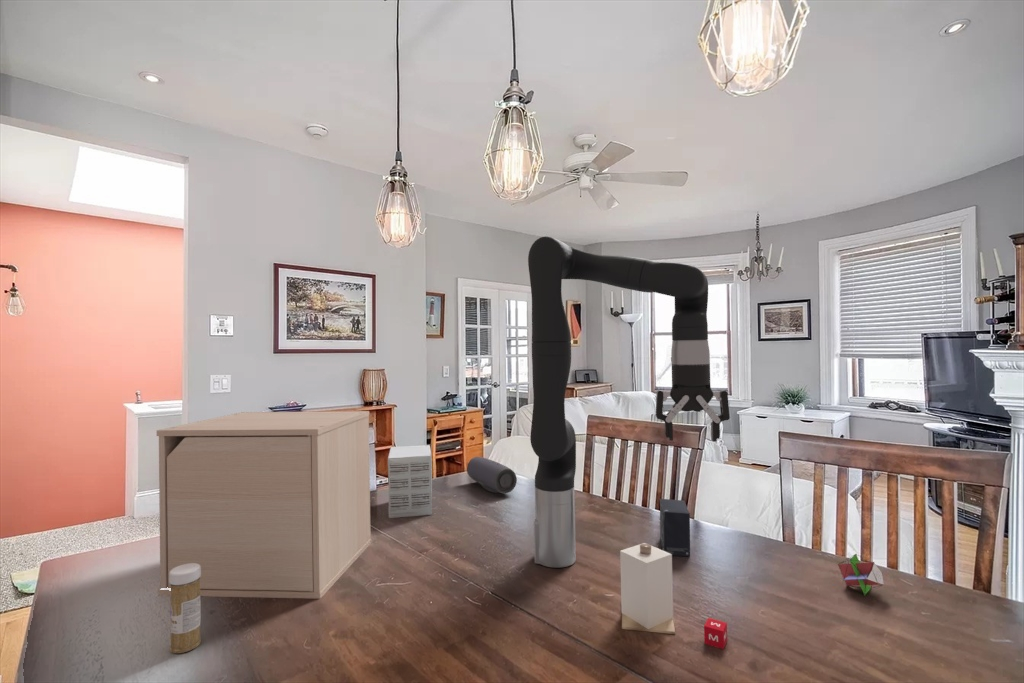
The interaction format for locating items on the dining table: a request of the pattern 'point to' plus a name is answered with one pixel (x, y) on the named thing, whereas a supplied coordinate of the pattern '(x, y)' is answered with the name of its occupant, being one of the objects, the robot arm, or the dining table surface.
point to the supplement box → (410, 481)
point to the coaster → (633, 625)
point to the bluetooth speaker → (492, 475)
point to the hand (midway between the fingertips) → (692, 440)
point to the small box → (675, 527)
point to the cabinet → (265, 501)
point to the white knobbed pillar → (646, 585)
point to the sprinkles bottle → (185, 607)
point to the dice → (715, 633)
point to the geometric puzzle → (861, 574)
